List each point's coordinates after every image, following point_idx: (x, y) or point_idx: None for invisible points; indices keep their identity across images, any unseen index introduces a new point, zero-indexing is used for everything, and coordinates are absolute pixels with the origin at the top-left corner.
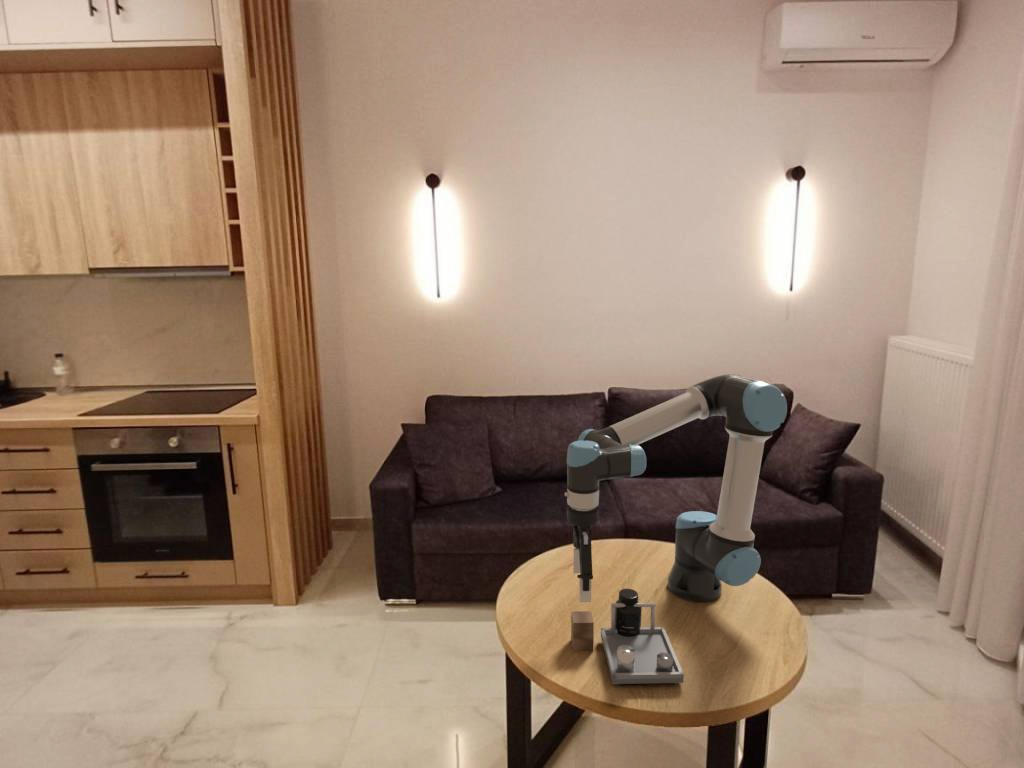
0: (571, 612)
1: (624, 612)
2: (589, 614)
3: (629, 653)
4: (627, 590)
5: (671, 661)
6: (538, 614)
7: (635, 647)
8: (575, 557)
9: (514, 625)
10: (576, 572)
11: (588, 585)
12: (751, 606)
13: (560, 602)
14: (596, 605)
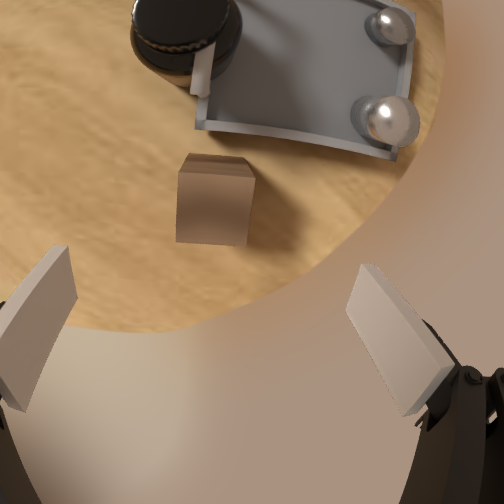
0: (181, 242)
1: (233, 50)
2: (199, 181)
3: (412, 118)
4: (151, 7)
5: (411, 20)
6: (82, 268)
7: (289, 52)
8: (39, 359)
9: (128, 318)
10: (74, 288)
11: (443, 346)
12: None
13: (32, 212)
14: (41, 118)
